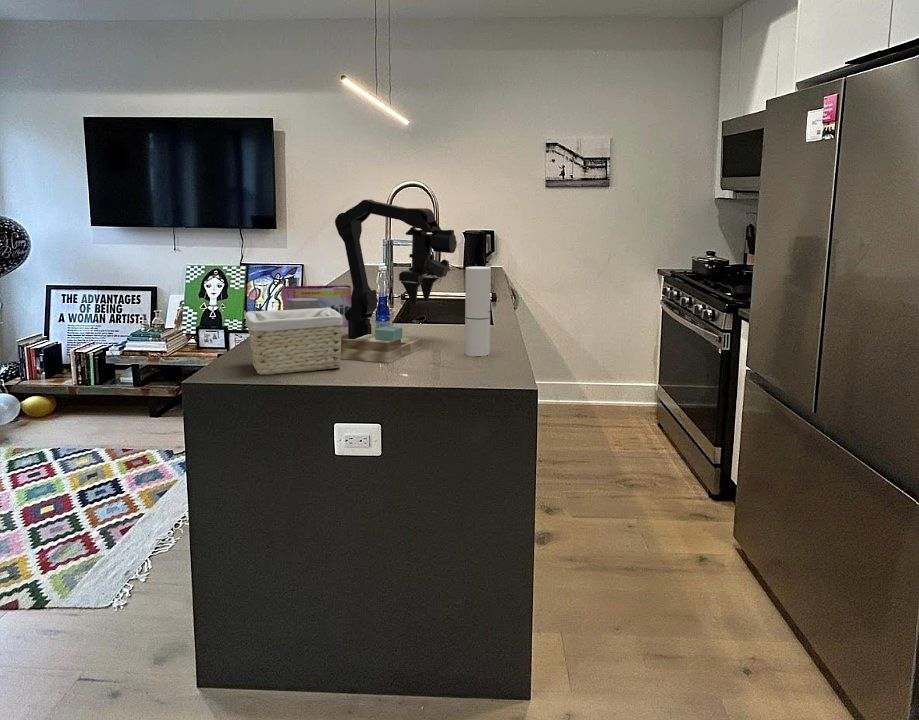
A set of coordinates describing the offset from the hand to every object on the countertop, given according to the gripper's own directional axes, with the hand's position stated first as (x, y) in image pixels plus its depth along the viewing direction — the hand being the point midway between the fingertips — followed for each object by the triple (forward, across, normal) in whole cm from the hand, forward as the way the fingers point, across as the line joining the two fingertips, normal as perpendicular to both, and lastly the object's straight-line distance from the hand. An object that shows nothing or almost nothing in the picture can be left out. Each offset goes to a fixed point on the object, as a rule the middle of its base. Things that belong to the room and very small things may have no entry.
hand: (420, 302), depth 249 cm
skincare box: (+14, -26, +25) cm, 39 cm away
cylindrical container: (+12, -8, -22) cm, 27 cm away
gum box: (+15, +15, +45) cm, 49 cm away
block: (+10, -11, +5) cm, 16 cm away
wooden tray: (+13, -18, +5) cm, 23 cm away
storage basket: (+14, -43, +17) cm, 48 cm away
